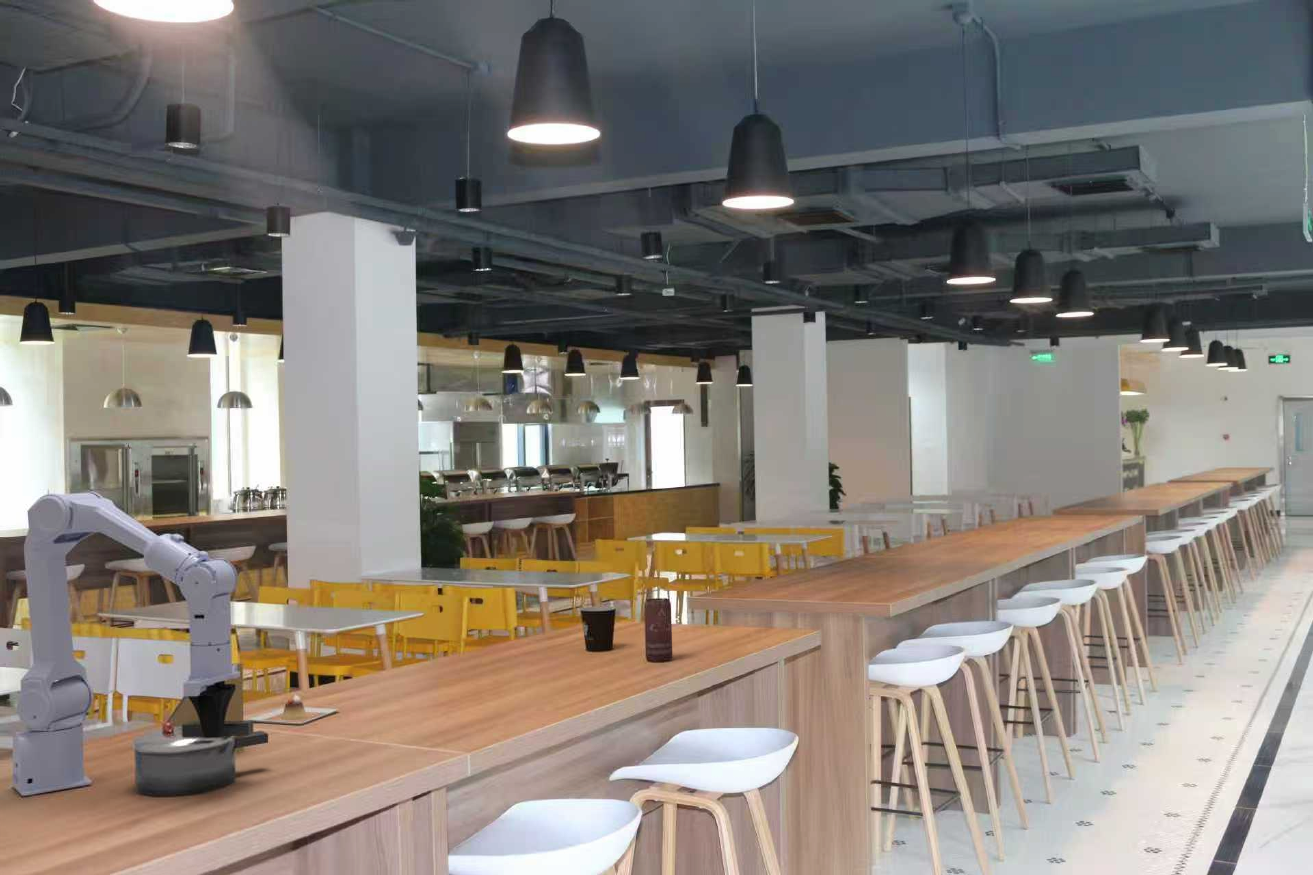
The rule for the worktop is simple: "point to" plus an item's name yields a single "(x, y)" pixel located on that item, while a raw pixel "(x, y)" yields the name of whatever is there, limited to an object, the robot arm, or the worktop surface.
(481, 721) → the worktop surface
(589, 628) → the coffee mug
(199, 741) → the cooker lid
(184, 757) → the cooker pot
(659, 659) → the can
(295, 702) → the dessert
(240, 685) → the sandwich container
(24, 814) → the worktop surface
